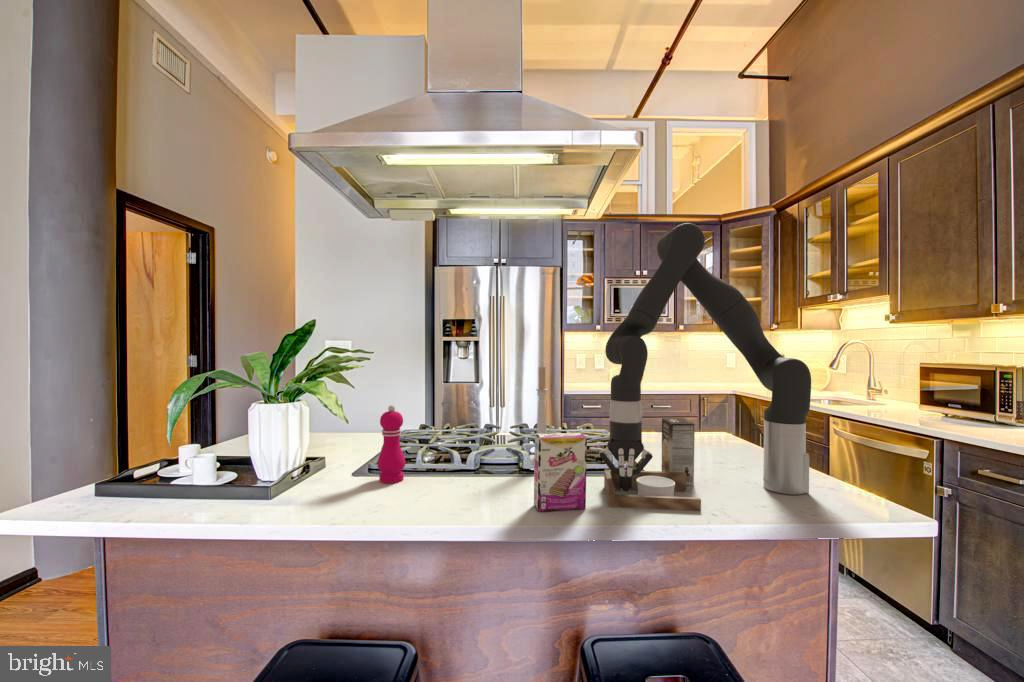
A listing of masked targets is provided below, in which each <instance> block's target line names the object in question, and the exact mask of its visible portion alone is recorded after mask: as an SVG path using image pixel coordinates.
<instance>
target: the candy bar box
mask: <svg viewBox="0 0 1024 682" xmlns="http://www.w3.org/2000/svg"><path fill="white" fill-rule="evenodd" d="M587 448H588V437H587V436H586V435H584V434H583V433H581V432H562V433H560V432H559V433H557V432H556V433H554V432H553V433H552V432H551V433H550V432H549V433H547V434H537V433H535V434H534V456H535V458H534V459H535V460H534V472H533V473H534V476H533V505H534V506H535V508H536V511H538V512H552V511H556V512H557V511H570V510H571V511H572V510H573V511H574V510H586V506H587V505H586V503H587V499H586V498H587V455H588V454H587V452H588V449H587Z"/></svg>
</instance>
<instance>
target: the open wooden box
mask: <svg viewBox="0 0 1024 682" xmlns="http://www.w3.org/2000/svg"><path fill="white" fill-rule="evenodd" d="M603 471H604V472H603V473H604V475H603V478H604V479H603V480H604V481H603V485H604V486H603V488H604V491H605V496H606V501H607V504H608V507H609V508H610V507H611V508H631V509H632V508H633V509H650V510H651V509H655V510H672V511H673V510H674V511H702V499H701V498H700V497H695V496H694V497H693V496H690V497H689V496H674V497H671V496H646V495H638V494H617V493H615V490H621V489H620V487H619V475H618V474H614V473H613V472H612V471H611V470H610V469H604V470H603ZM625 474H626V469H625ZM642 476H659V477H665V478H668V479H671V480H673V481H674V482H675V487H674V492H687V485H686V476H687V474H686V472H664V471H662V470H661V471H660V470H659V471H658V470H657V471H656V470H642V471H641V472H640V473H639V474H635V475H633V476H632V488H631V490H634V491H635V490H636V491H638V486H637V482H636V479H637V478H639V477H642ZM631 490H630V491H631Z"/></svg>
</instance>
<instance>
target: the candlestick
mask: <svg viewBox="0 0 1024 682" xmlns="http://www.w3.org/2000/svg"><path fill="white" fill-rule="evenodd" d="M548 390H549V389H548V388H546V366H538V388H536V391H537V396H538V398H539V399H538V406H537V409H538V410H537V424H536V427H537V428H536V434H548V433H547V432H548V430H547V412H546V411H547V409H546V401H545V398H546V396H547V391H548ZM529 457H530V460H531V464H532V465H533V466H534V460H535V459H534V458H535V455H534V456H529ZM521 466H522V463H521V462H520V464H519V467H520V468H521Z"/></svg>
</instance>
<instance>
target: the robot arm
mask: <svg viewBox="0 0 1024 682" xmlns="http://www.w3.org/2000/svg"><path fill="white" fill-rule="evenodd" d="M705 241H706V240H705V235H704V232H703V230H702V229H701V228H700V227H699V226H698V225H696V224H695V223H689V222H686V223H681V224H678V225H677V226H675V227H673V228H672V229H671V230H669V231H667V233H666V234H664V235H662V236H661V237H660V238H659V240H658V242H657V244H656V251H657V256H658V257H659V260H660V261H661V263H660V265H659V266H658V267H657V270H656V271H655V273H654V274H653V275H652V277H651V278H650V279H649V280H648V282H647V283H646V284H645V285H644V287H643V288H642V290H641V291H640V292H639V294H638V296H637V297H636V299H635V301H634V303H633V304H632V307H631V308H630V310H629V312H628V314H627V316H626V317H625V318H624V319H623V321H622V322H621V323H620V324H619V325H618V326H617V327H616V328H615V330H614V331H613V332H612V334H611V335H610V337H608V339H607V342H606V345H605V351H604V352H605V355H606V358H607V359H608V361H609V362H610V363H612V364H615V365H621V366H620V371H619V374H617V375H613V377H612V378H611V380H610V402H609V403H610V406H609V416H608V417H609V439H608V442H607V445H606V447H605V448H603V449H600V450H599V452H598V454H599V457H600V458H601V459H602V461H603V462H604V464H606V466H607V467H608V469H609V470H611V471H612V472H613V473H614V474H618V475H619V487H620V489H619V490H621V491H622V493H629V492H630V491H631V488H632V476H633V475H635V474H639V473H640V472H641V471H644V470H643V469H644V468H645V467H646V466H647V465H648V464H649V462H650V461H651V460H652V459H653V457H654V456H653V454H652V453H651V451H648V450H647V449H645V446H644V444H643V440H642V435H643V433H642V432H643V429H642V428H643V422H642V421H643V413H642V412H643V411H642V410H643V408H642V401H641V399H642V395H641V394H642V391H641V389H642V386H641V384H642V380H643V377H644V373H645V370H646V365H647V361H648V355H649V354H648V346H647V344H646V341H644V339H643V338H642V337H643V336H646V335H649V334H651V333H652V332H653V331H654V329H655V328H656V326H657V323H658V321H659V320H660V318H661V315H662V313H663V312H664V310H665V308H666V306H667V304H668V302H669V300H670V299H671V297H672V296H673V293H674V291H676V288H677V286H678V285H679V283H680V282H681V283H682V284H684V286H685V287H686V288H687V289H688V291H689V292H691V294H692V296H693V297H695V300H697V302H698V303H699V304H700V305H701V306H702V308H703V309H704V310H705V311H706V312H707V314H708V316H709V317H710V318H711V319H712V321H713V322H714V323H715V324H716V325H717V327H718V328H719V329H720V330H721V331H722V332H723V334H724V335H725V336H726V337H727V338H728V340H730V341H729V342H731V343H732V344H733V346H734V347H735V348H736V349H737V350H738V351H739V352H740V354H741V355H742V356H743V358H745V360H746V361H747V363H748V365H749V366H750V368H751V369H752V371H753V373H754V375H755V376H756V377H757V380H759V382H760V383H761V385H762V386H763V387H764V388H765V389H767V390H768V391H771V402H770V404H769V406H767V407H766V408H765V409H764V412H763V477H762V480H763V487H764V489H766V490H768V491H770V492H773V493H778V494H784V495H794V496H795V495H802V494H809V493H810V454H808V453H807V452H806V451H807V450H806V449H807V448H806V447H807V446H806V445H807V444H806V442H807V441H806V440H807V439H806V437H807V433H806V431H807V429H806V427H807V426H806V425H807V415H808V414H809V412H810V408H811V396H812V395H811V394H812V375H811V371H810V368H809V367H808V365H807V364H806V363H805V362H803V361H802V360H800V359H797V358H794V357H784V356H783V355H782V354H781V353H780V352H778V351H777V349H776V348H775V346H773V345H772V344H771V343H770V341H769V340H768V339H767V337H766V336H765V333H764V330H763V328H762V325H761V322H760V318H759V317H758V314H757V312H756V310H755V309H754V307H753V306H752V304H750V302H749V301H748V299H746V297H745V296H744V294H742V292H741V291H740V290H739V289H737V288H736V287H735V286H733V285H732V284H730V283H728V282H727V281H725V280H723V279H721V278H719V277H718V276H716V275H714V274H713V273H711V272H710V271H709V270H708V269H706V268H705V266H703V264H702V262H700V260H699V259H698V257H699V255H701V253H702V251H703V250H704V248H705ZM610 453H611V455H612V457H613V458H614V459H615V460H616V461H617V466H616V465H615V464H614V463H613V461H612V460H611V459H610V457H611V456H610ZM639 456H640V459H639V461H638V462H637V463H636V464H635V465H634V462H635V461H636V460H637V459H638V458H639ZM625 462H626V464H625ZM625 470H626V474H625Z"/></svg>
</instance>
